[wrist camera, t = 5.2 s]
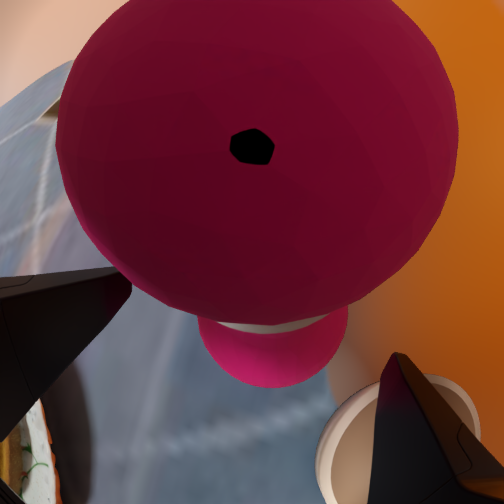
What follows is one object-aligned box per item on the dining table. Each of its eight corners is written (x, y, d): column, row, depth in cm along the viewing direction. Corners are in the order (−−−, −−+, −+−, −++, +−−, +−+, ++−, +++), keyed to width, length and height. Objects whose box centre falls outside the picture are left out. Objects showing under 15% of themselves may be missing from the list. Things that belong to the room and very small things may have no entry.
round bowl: (306, 523, 13) (310, 544, 10) (320, 380, 17) (328, 377, 14) (446, 502, 12) (468, 512, 9) (459, 370, 16) (483, 364, 13)
